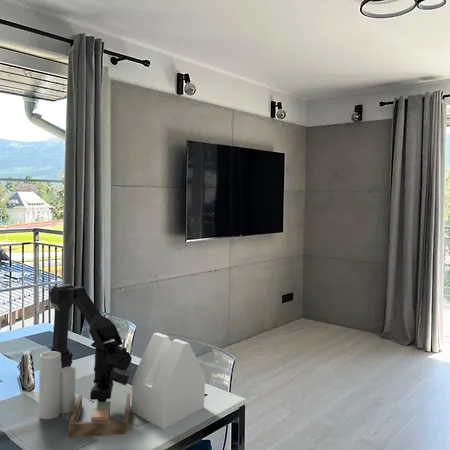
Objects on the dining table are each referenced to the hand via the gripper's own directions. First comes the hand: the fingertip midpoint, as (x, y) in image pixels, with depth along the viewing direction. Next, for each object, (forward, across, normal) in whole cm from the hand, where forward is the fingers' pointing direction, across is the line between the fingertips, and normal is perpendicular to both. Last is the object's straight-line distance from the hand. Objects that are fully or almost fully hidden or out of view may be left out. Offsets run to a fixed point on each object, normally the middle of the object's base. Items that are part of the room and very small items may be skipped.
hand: (103, 407), depth 147 cm
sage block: (+2, -4, 0) cm, 5 cm away
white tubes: (+2, +3, +15) cm, 16 cm away
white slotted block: (+2, +1, -22) cm, 22 cm away
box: (+2, -4, 0) cm, 4 cm away
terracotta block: (+2, -9, 0) cm, 10 cm away
